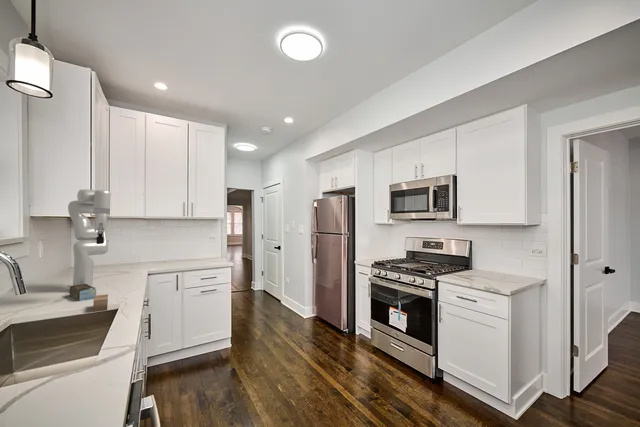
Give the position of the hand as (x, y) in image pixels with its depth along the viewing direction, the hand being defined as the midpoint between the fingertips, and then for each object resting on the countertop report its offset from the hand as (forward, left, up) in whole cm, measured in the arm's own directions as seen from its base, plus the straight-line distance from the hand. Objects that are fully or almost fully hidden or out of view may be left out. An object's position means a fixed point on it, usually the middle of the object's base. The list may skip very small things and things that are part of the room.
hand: (99, 243), depth 160 cm
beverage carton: (-9, -7, -32) cm, 34 cm away
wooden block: (+17, +2, -28) cm, 33 cm away
